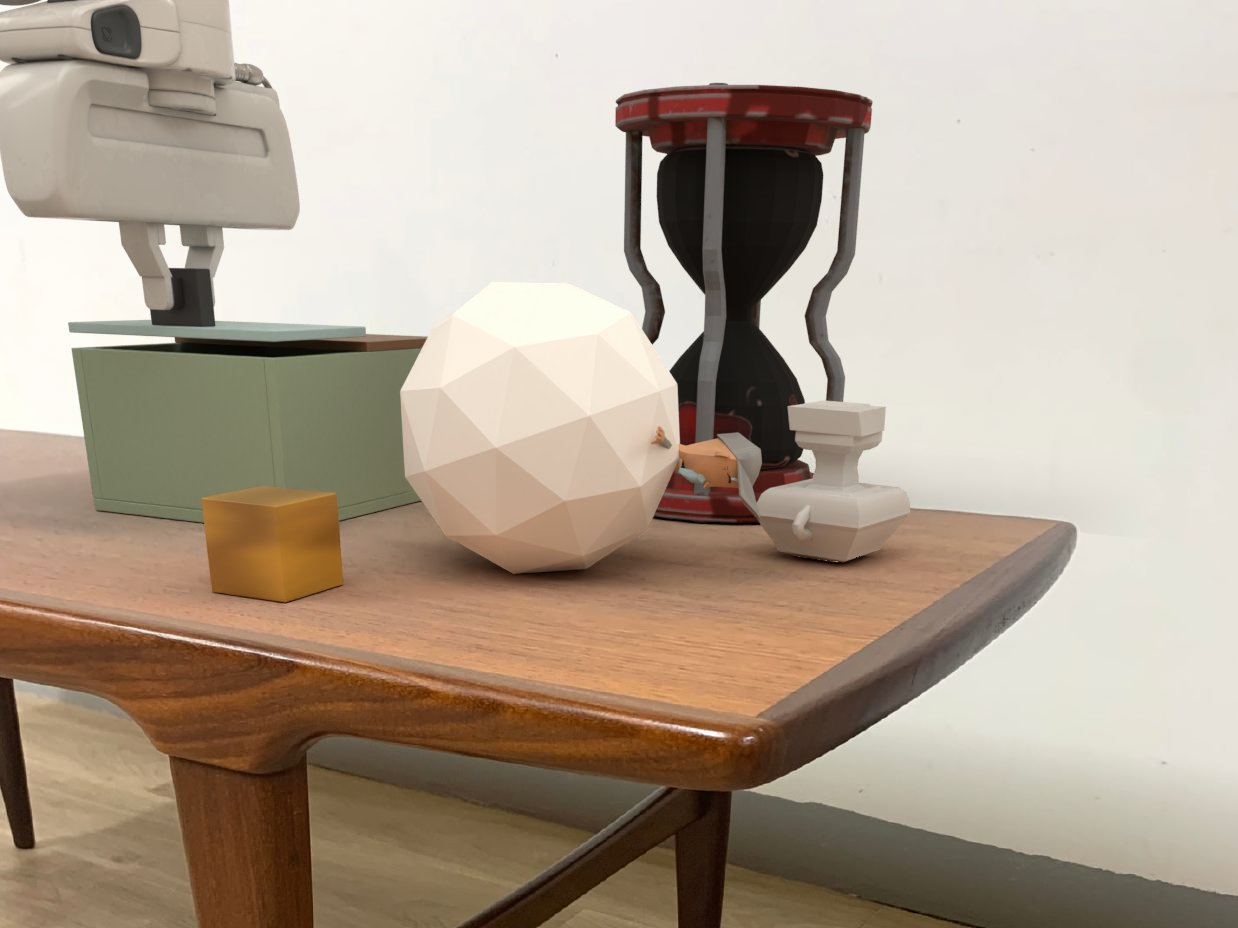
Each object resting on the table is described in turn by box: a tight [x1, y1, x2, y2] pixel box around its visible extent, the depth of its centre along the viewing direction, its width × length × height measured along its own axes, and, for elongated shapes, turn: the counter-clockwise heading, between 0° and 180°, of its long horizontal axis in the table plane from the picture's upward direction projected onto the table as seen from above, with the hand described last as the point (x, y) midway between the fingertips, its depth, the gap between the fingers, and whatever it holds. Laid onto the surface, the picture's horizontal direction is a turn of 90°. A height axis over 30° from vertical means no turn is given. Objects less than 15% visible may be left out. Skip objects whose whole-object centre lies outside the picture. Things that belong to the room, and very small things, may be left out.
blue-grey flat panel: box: [67, 267, 367, 342], centre depth 80 cm, size 16×9×4 cm, turn 65°
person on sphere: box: [400, 281, 762, 575], centre depth 68 cm, size 14×15×20 cm
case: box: [71, 333, 428, 524], centre depth 87 cm, size 16×18×11 cm
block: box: [202, 486, 344, 603], centre depth 64 cm, size 5×5×5 cm
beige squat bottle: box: [757, 400, 911, 563], centre depth 73 cm, size 9×7×8 cm
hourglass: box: [614, 82, 874, 524], centre depth 86 cm, size 16×16×25 cm
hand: (181, 309), depth 78 cm, fingers closed on blue-grey flat panel
